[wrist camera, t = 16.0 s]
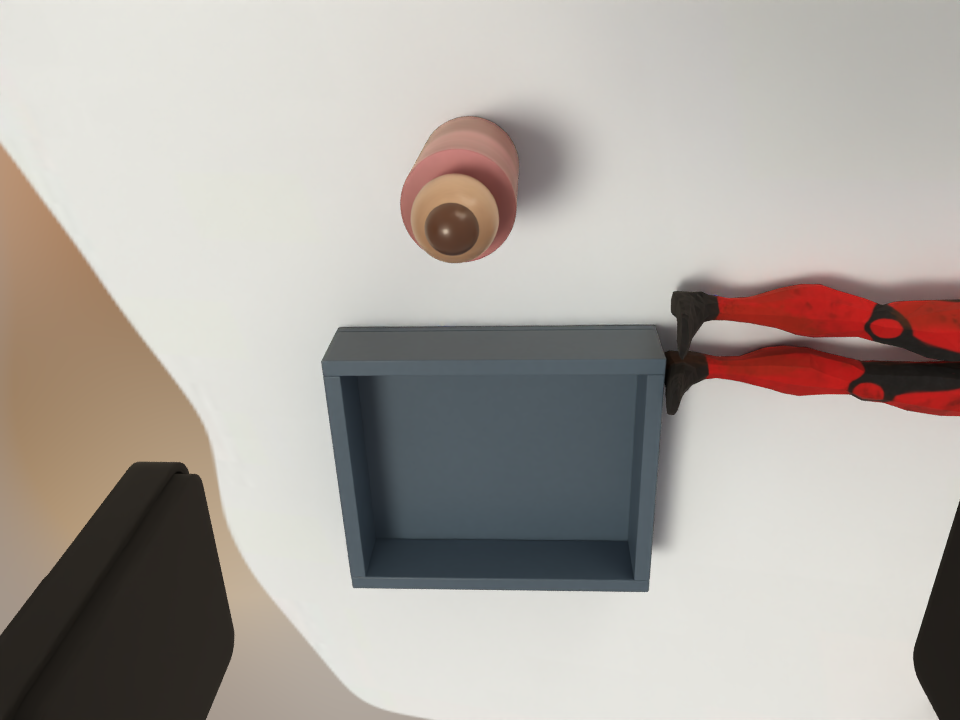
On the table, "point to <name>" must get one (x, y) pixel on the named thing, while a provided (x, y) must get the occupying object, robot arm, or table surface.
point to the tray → (497, 455)
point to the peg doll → (462, 191)
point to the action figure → (804, 371)
